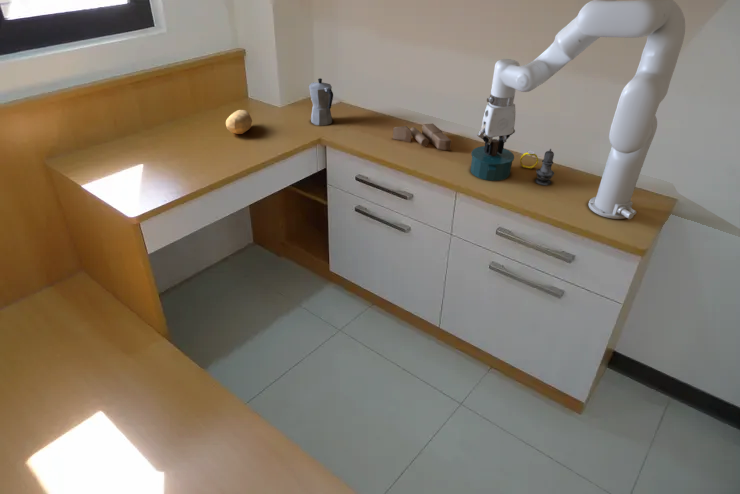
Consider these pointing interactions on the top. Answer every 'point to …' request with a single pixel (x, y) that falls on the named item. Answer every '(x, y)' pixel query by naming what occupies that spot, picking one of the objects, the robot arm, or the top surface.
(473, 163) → the pan
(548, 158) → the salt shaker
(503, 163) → the pan lid
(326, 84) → the coffeepot
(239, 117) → the potato
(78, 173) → the top surface
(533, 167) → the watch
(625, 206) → the robot arm
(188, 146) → the top surface
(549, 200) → the top surface
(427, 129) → the wooden block set
